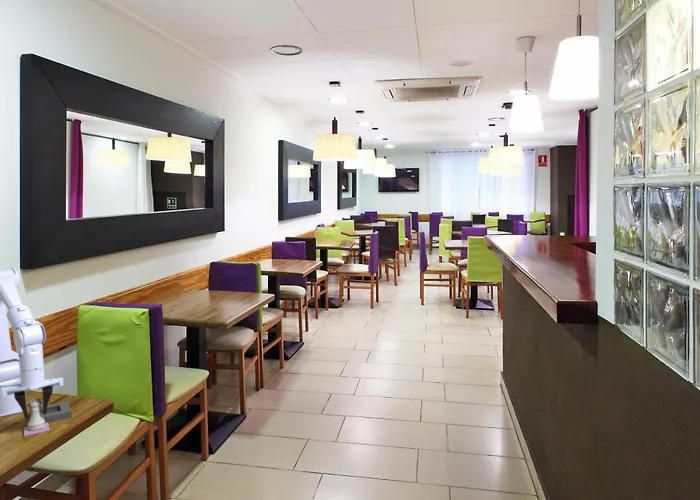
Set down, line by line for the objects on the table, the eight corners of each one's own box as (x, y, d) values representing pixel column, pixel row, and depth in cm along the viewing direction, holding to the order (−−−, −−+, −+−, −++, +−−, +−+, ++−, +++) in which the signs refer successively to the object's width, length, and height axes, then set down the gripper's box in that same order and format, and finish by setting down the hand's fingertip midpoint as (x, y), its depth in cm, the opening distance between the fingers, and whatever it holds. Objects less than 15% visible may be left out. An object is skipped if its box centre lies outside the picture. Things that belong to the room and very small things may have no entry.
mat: (23, 428, 144) (23, 427, 144) (48, 423, 148) (48, 422, 148) (24, 436, 140) (24, 435, 139) (49, 430, 143) (49, 429, 143)
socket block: (30, 414, 155) (30, 408, 155) (68, 406, 160) (68, 400, 160) (31, 425, 146) (31, 419, 146) (71, 417, 152) (71, 411, 152)
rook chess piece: (35, 432, 141) (33, 404, 141) (23, 430, 143) (21, 402, 142) (49, 425, 145) (47, 398, 145) (38, 423, 147) (36, 396, 146)
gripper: (0, 377, 135) (4, 426, 136) (62, 366, 143) (66, 413, 144) (0, 370, 141) (4, 417, 142) (60, 360, 149) (64, 405, 150)
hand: (35, 415), depth 143 cm, fingers open, 4 cm apart
